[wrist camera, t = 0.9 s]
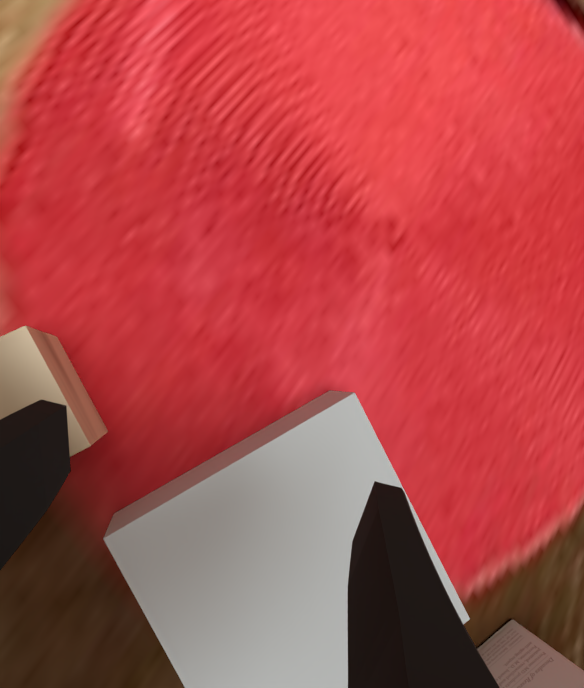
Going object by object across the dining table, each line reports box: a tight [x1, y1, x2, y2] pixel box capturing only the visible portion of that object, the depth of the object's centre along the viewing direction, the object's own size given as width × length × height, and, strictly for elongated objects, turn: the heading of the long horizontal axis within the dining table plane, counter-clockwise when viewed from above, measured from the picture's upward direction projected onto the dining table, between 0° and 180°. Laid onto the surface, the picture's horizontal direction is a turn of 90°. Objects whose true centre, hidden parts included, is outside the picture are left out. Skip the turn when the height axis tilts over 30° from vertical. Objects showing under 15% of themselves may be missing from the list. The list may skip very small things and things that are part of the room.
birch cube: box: [0, 326, 108, 457], centre depth 19 cm, size 5×5×5 cm
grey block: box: [103, 391, 470, 688], centre depth 23 cm, size 12×12×4 cm
